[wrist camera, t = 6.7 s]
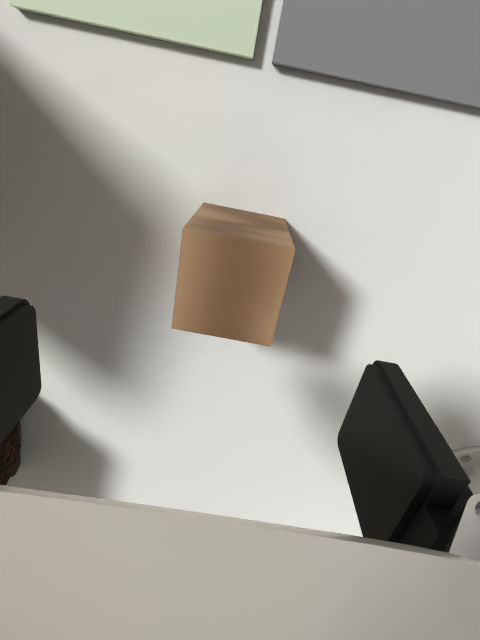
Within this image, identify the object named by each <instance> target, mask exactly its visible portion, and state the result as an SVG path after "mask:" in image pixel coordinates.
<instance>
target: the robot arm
mask: <svg viewBox="0 0 480 640" xmlns="http://www.w3.org/2000/svg"><path fill="white" fill-rule="evenodd" d="M40 390H41V375H40V362H39V349H38V336H37V323H36V311H35V308H34V307H33V306H30V304H29V302H28V301H27V300H26V299H20V298H14V297H9V296H1V297H0V444H1V443H2V442H3V441H4V439H5V438H6V437H7V436H8V434H9V433H10V432H11V430H12V429H13V428H14V427H15V425H16V424H17V423H18V422H19V420H20V419H21V418H22V417H23V415H24V414H25V413H26V412H27V410H28V409H29V408H30V407H31V405H32V404H33V403H34V401H35V400H36V399H37V397H38V396H39V394H40ZM338 447H339V451H340V455H341V458H342V462H343V466H344V469H345V473H346V476H347V480H348V484H349V487H350V491H351V495H352V498H353V502H354V505H355V509H356V513H357V516H358V520H359V524H360V527H361V531H362V534H363V537H359V536H353V535H347V534H340V533H334V532H327V531H320V530H314V529H307V528H300V527H293V526H287V525H280V524H273V523H267V522H260V521H253V520H246V519H240V518H233V517H226V516H219V515H212V514H205V513H198V512H191V511H184V510H178V509H171V508H164V507H157V506H150V505H143V504H136V503H128V502H121V501H114V500H107V499H100V498H93V497H86V496H79V495H71V494H64V493H57V492H50V491H42V490H35V489H28V488H21V487H13V486H6V485H0V640H480V446H476V447H468V448H463V449H458V450H455V451H452V450H451V449H450V447H449V445H448V444H447V442H446V441H445V439H444V437H443V436H442V434H441V433H440V431H439V429H438V428H437V426H436V425H435V423H434V421H433V420H432V418H431V417H430V415H429V413H428V412H427V410H426V409H425V407H424V405H423V404H422V402H421V401H420V399H419V397H418V396H417V394H416V393H415V391H414V389H413V388H412V386H411V385H410V383H409V381H408V380H407V378H406V377H405V375H404V373H403V372H402V370H401V369H400V367H399V366H398V365H397V364H395V363H389V362H383V361H378V360H377V361H375V362H374V363H373V364H372V365H371V364H369V365H367V366H366V368H365V370H364V373H363V375H362V378H361V380H360V382H359V385H358V387H357V390H356V392H355V395H354V397H353V399H352V402H351V404H350V407H349V409H348V412H347V414H346V416H345V419H344V421H343V424H342V426H341V429H340V431H339V434H338ZM465 455H469V457H467V458H466V459H461V457H463V456H465Z"/></svg>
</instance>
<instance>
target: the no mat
mask: <svg viewBox="0 0 480 640" xmlns="http://www.w3.org/2000/svg"><path fill="white" fill-rule="evenodd" d="M272 64H275V65H279V66H284V67H288V68H293V69H298V70H302V71H307V72H312V73H316V74H321V75H325V76H330V77H335V78H339V79H344V80H348V81H353V82H358V83H362V84H367V85H371V86H376V87H381V88H385V89H390V90H395V91H399V92H404V93H408V94H413V95H418V96H422V97H427V98H431V99H436V100H441V101H445V102H450V103H454V104H459V105H464V106H468V107H473V108H477V109H480V0H284V2H283V7H282V12H281V18H280V23H279V29H278V34H277V39H276V45H275V50H274V55H273V61H272Z"/></svg>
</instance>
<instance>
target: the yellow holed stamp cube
mask: <svg viewBox="0 0 480 640" xmlns="http://www.w3.org/2000/svg"><path fill="white" fill-rule="evenodd" d="M20 447H21V445H20V423H19V422H18V423H17V424H16V425H15V427H14V428H13V429H12V430H11V432H10V433H9V434H8V436H7V437H6V438H5V439H4V441H3V442H2V443H1V444H0V485H6V484H7V482H8V480H9V478H10V477H12V476H14V475H15V474H16V472H17V470H18V468H19V467H20V452H19V449H20Z"/></svg>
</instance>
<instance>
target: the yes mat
mask: <svg viewBox="0 0 480 640" xmlns="http://www.w3.org/2000/svg"><path fill="white" fill-rule="evenodd" d="M262 2H263V0H10V5H11V6H13V7H15V8H17V9H21V10H26V11H30V12H35V13H40V14H44V15H49V16H53V17H58V18H63V19H67V20H72V21H76V22H81V23H86V24H90V25H95V26H99V27H104V28H109V29H113V30H118V31H123V32H127V33H132V34H136V35H141V36H146V37H150V38H155V39H159V40H164V41H169V42H173V43H178V44H182V45H187V46H192V47H196V48H201V49H206V50H210V51H215V52H219V53H224V54H229V55H233V56H238V57H242V58H247V59H252V60H253V56H254V50H255V44H256V38H257V32H258V26H259V20H260V14H261V8H262Z"/></svg>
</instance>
